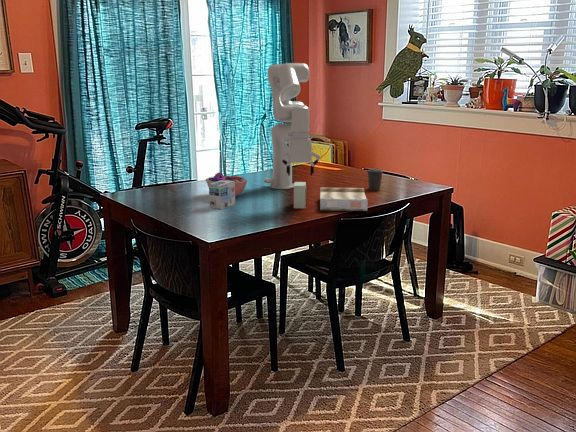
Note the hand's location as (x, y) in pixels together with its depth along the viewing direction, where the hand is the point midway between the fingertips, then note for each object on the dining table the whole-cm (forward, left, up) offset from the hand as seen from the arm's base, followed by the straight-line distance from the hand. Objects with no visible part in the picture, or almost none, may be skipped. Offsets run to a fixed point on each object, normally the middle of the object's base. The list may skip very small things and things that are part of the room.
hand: (300, 175), depth 251 cm
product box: (0, 0, -14) cm, 14 cm away
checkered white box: (+19, +3, -14) cm, 24 cm away
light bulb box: (-34, -2, -14) cm, 37 cm away
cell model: (-35, +16, -14) cm, 41 cm away
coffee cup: (+36, +36, -14) cm, 53 cm away
